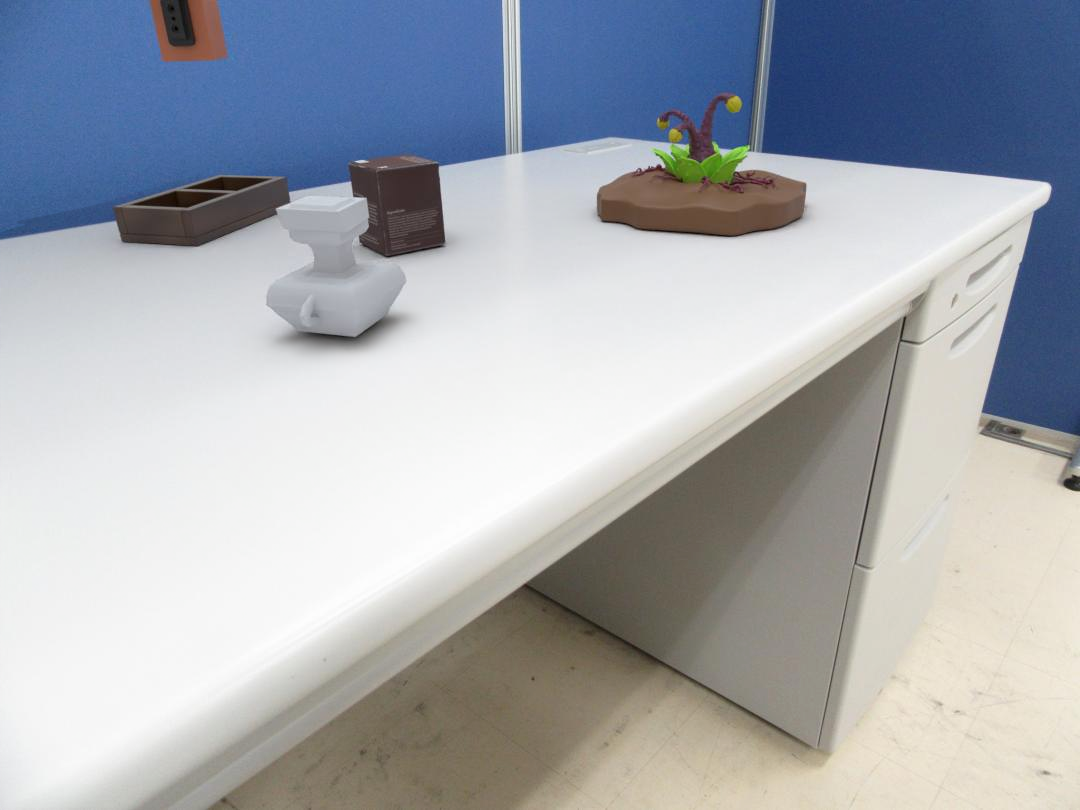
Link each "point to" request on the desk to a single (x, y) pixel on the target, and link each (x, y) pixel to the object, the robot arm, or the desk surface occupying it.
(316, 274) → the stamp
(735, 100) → the plant
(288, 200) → the tray
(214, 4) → the block
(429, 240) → the box
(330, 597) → the desk surface
